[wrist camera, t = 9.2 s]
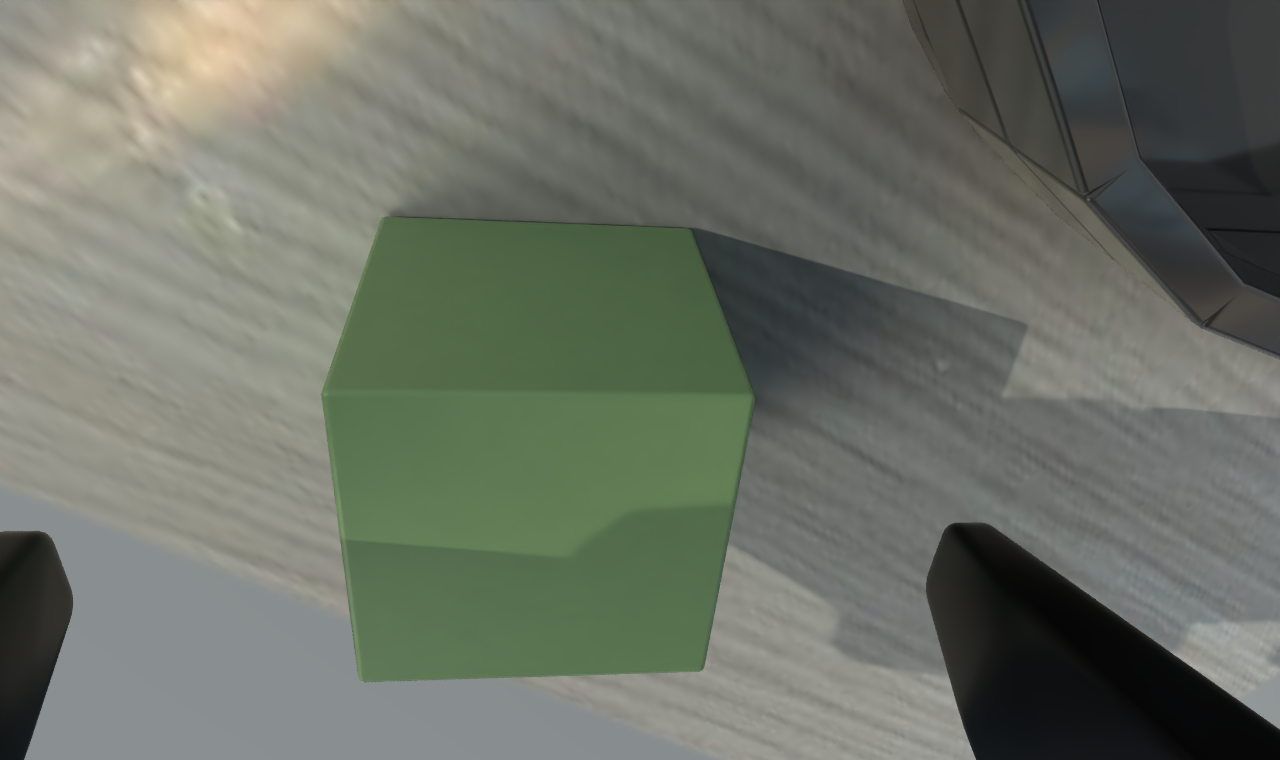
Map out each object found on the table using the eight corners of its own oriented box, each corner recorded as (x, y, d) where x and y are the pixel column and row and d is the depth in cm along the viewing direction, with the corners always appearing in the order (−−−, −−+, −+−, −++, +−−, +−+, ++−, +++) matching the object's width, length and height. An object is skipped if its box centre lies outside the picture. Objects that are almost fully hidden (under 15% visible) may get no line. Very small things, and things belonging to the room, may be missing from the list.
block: (692, 226, 12) (759, 396, 8) (661, 463, 14) (704, 673, 11) (380, 214, 11) (318, 391, 8) (399, 463, 13) (357, 684, 10)
